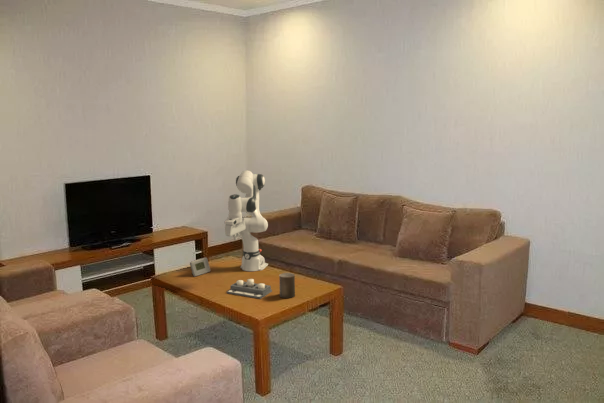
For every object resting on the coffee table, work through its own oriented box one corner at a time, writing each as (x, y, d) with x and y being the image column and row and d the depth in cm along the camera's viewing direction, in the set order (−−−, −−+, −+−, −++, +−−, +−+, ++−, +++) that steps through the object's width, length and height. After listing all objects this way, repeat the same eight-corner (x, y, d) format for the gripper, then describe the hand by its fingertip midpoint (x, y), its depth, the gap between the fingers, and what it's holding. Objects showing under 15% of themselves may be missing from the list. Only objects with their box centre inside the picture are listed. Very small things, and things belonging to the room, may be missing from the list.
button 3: (260, 289, 315) (260, 282, 314) (266, 290, 313) (265, 283, 312) (256, 291, 311) (256, 284, 310) (262, 292, 309) (262, 285, 308)
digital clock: (193, 277, 345) (192, 263, 343) (187, 274, 351) (186, 260, 350) (213, 272, 355) (212, 258, 354) (206, 270, 362) (206, 256, 360)
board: (239, 286, 326) (239, 280, 325) (272, 291, 316) (271, 285, 315) (226, 293, 313) (226, 287, 312) (260, 298, 302) (260, 292, 302)
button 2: (249, 284, 318) (249, 278, 317) (255, 285, 316) (255, 279, 315) (245, 286, 314) (245, 280, 313) (251, 287, 312) (251, 281, 311)
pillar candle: (296, 297, 305) (296, 274, 302) (281, 299, 302) (281, 275, 300) (292, 292, 314) (292, 270, 312) (277, 294, 311) (277, 271, 309)
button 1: (239, 286, 322) (238, 279, 321) (244, 286, 320) (244, 280, 319) (235, 288, 318) (235, 281, 317) (241, 289, 316) (241, 282, 315)
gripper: (239, 215, 333) (240, 235, 336) (222, 222, 315) (223, 242, 318) (247, 216, 331) (248, 235, 333) (231, 223, 312) (232, 243, 315)
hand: (236, 239), depth 325 cm, fingers closed
